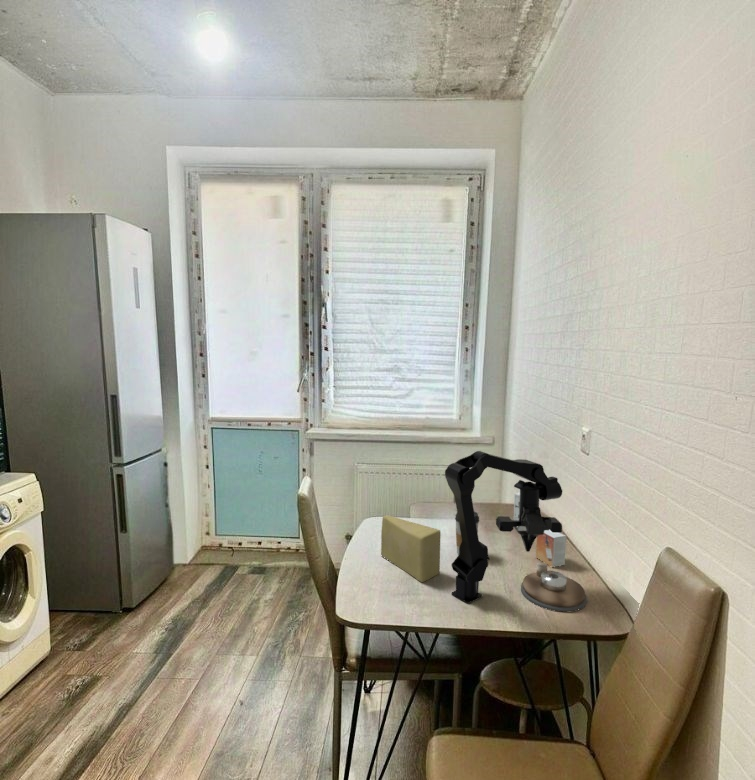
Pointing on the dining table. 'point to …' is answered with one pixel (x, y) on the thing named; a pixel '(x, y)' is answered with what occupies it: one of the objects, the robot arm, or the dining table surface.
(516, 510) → the supplement box
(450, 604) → the dining table surface
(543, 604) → the turntable base
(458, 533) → the coffee cup
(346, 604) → the dining table surface
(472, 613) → the dining table surface
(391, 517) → the cheese
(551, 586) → the cast cover
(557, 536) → the small box
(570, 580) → the lazy susan
